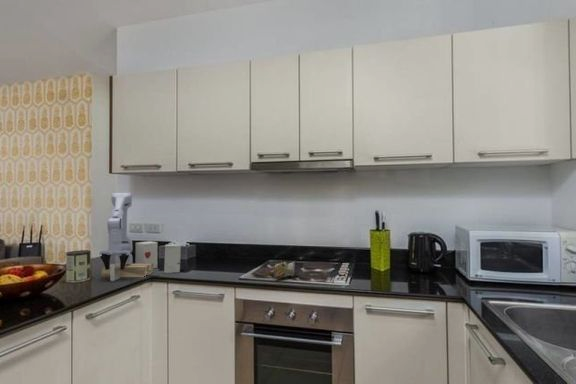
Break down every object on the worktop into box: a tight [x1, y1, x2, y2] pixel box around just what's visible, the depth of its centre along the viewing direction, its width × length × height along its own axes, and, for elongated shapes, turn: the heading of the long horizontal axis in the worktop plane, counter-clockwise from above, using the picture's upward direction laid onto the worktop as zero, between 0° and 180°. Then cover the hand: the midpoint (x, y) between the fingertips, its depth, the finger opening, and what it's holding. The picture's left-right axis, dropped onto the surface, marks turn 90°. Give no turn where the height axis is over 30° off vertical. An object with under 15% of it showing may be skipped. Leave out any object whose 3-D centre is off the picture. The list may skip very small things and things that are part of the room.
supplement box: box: [135, 241, 158, 269], centre depth 190 cm, size 9×9×15 cm
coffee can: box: [65, 249, 92, 284], centre depth 162 cm, size 10×10×14 cm
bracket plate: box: [109, 262, 120, 282], centre depth 163 cm, size 4×2×8 cm, turn 178°
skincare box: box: [163, 243, 182, 274], centre depth 180 cm, size 8×6×15 cm
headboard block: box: [101, 262, 154, 278], centre depth 173 cm, size 10×22×5 cm, turn 88°
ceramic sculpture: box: [264, 260, 296, 280], centre depth 165 cm, size 11×9×15 cm
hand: (114, 269), depth 163 cm, fingers open, 7 cm apart
